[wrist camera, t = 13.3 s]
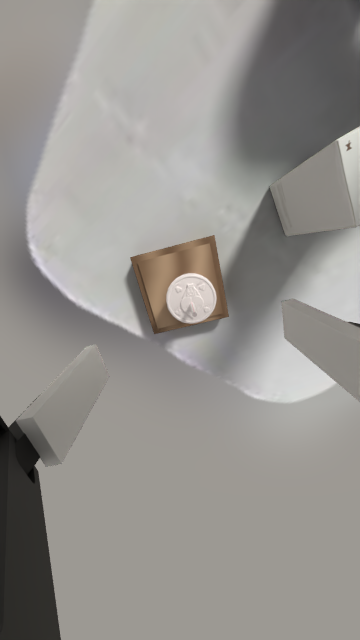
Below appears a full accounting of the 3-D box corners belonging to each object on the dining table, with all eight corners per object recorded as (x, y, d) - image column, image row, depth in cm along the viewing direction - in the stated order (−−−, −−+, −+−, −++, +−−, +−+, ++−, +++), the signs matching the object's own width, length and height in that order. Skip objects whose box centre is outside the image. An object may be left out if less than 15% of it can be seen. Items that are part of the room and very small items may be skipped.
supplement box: (284, 238, 36) (354, 230, 22) (267, 186, 33) (334, 138, 19) (335, 212, 35) (445, 185, 20) (322, 155, 32) (437, 80, 18)
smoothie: (171, 307, 36) (167, 340, 22) (166, 270, 34) (159, 282, 20) (207, 303, 35) (225, 334, 22) (205, 265, 33) (223, 274, 20)
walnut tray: (210, 236, 36) (214, 235, 32) (224, 310, 40) (229, 317, 36) (134, 256, 37) (129, 257, 33) (156, 327, 41) (154, 334, 37)
